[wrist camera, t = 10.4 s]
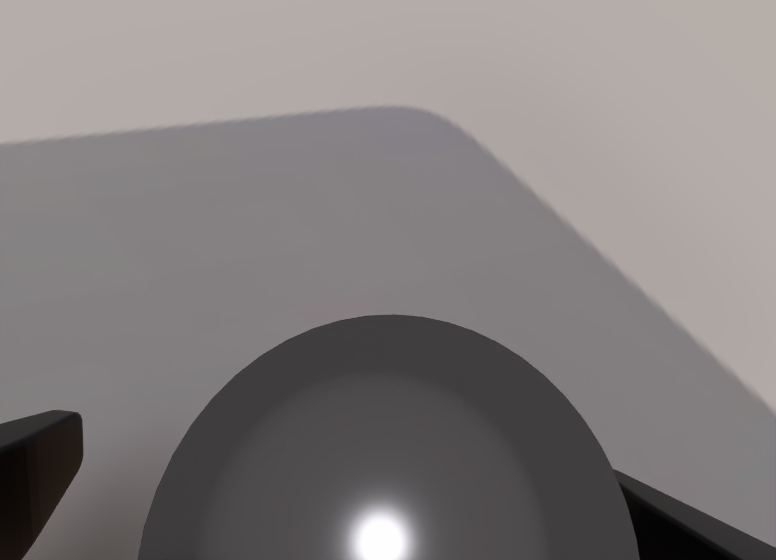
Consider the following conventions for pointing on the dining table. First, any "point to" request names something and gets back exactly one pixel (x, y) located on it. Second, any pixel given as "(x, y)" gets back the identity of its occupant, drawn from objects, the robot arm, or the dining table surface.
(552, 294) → the dining table surface
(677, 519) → the robot arm
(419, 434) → the wooden base with cylinder
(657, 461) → the dining table surface
